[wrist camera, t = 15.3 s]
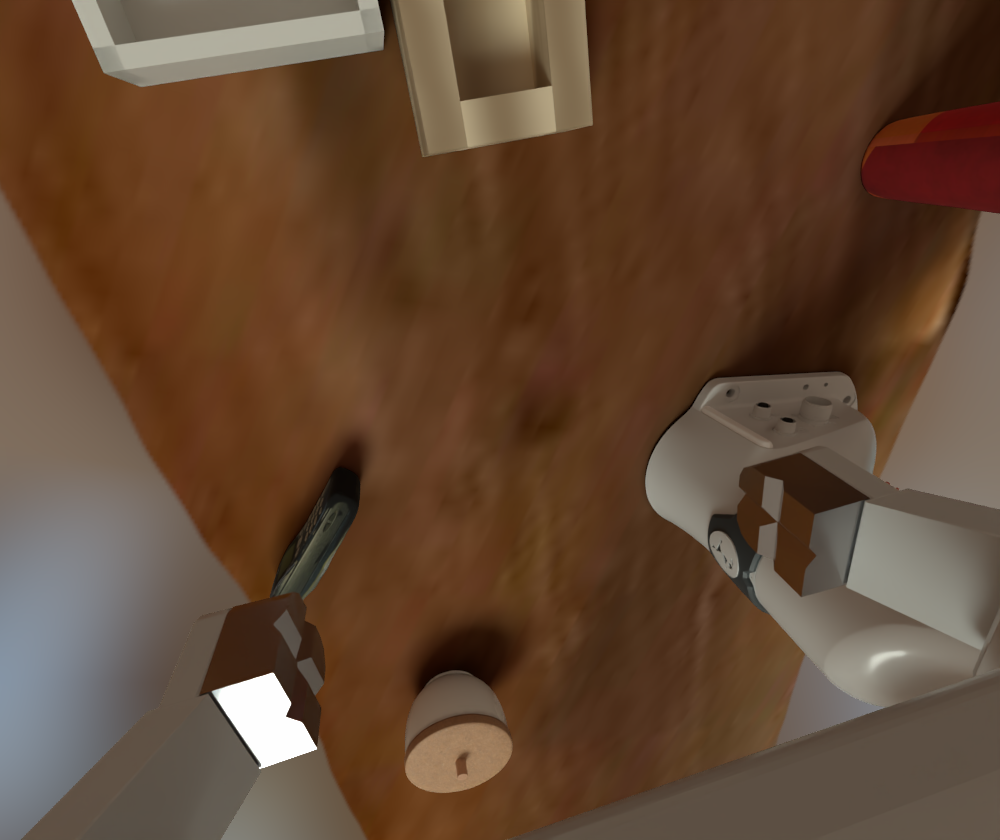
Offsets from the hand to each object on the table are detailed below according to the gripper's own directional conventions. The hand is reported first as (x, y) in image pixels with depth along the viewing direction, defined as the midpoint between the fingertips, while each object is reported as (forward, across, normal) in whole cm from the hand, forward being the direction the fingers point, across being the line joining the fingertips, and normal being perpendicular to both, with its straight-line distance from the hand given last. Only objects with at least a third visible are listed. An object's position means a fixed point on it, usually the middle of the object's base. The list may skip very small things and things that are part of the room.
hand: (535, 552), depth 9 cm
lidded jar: (+31, -7, -45) cm, 55 cm away
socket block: (+31, +7, +12) cm, 34 cm away
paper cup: (+31, +39, +1) cm, 50 cm away
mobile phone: (+32, -14, -20) cm, 40 cm away
